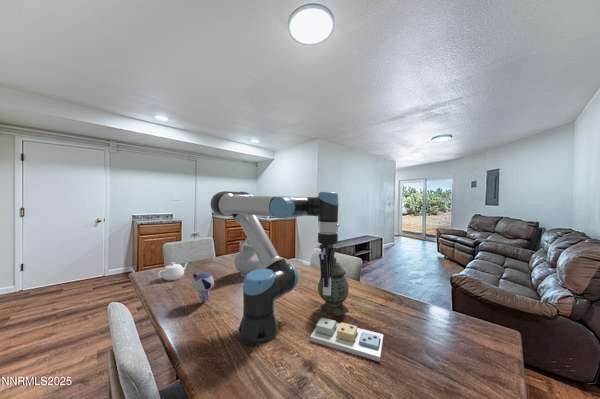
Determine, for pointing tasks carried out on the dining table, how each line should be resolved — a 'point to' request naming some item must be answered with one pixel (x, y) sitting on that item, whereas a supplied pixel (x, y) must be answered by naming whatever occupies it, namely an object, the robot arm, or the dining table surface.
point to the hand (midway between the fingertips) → (326, 294)
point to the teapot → (172, 272)
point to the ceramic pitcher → (246, 259)
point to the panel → (349, 343)
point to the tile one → (326, 326)
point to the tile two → (347, 332)
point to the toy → (203, 285)
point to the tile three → (370, 340)
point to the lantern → (335, 292)
